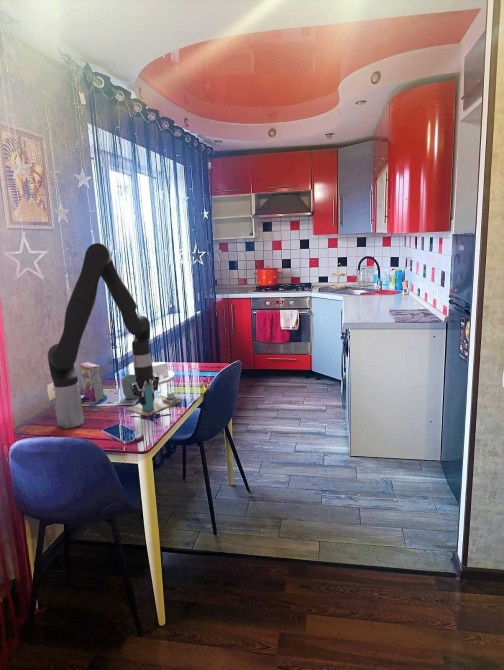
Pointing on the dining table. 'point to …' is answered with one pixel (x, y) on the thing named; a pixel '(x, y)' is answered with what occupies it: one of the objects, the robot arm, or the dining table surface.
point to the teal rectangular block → (148, 398)
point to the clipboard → (155, 405)
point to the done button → (170, 395)
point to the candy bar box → (91, 381)
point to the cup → (128, 386)
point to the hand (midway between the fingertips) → (147, 402)
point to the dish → (162, 372)
